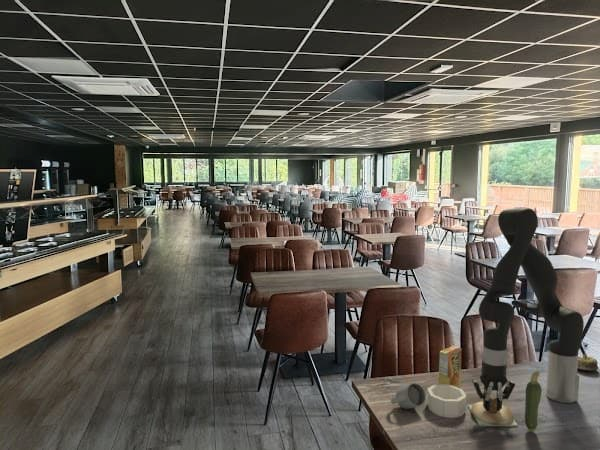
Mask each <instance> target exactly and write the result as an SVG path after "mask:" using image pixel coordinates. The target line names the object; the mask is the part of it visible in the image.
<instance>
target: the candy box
mask: <svg viewBox="0 0 600 450" xmlns="http://www.w3.org/2000/svg"><path fill="white" fill-rule="evenodd" d="M462 353H463V349H462V348H460V347H458V346H455V345H452V346H449V347H447V348H445V349H442V350H440V351H439V365H438V384H449V385H452V386H455V387H457V388H461V377H462V376H461V375H462V374H461V373H462V357H463V356H462V355H463V354H462Z"/></svg>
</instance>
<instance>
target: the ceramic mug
mask: <svg viewBox="0 0 600 450" xmlns="http://www.w3.org/2000/svg"><path fill="white" fill-rule="evenodd" d="M426 401H427V394H426V392H425V389H424V388H423V386H422V385H421V384H419V383H418V382H411V383H409V384H406V385H404V386H401V387H400V388H399V389H397V391H396V393H395V397H394V398H390V402H391V405H394V404H398V406H399V407H400V408H403V409H406V410H410V409H413V408H415V409H416V408H420V407H422V406H424V404H425V402H426Z"/></svg>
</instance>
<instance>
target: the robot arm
mask: <svg viewBox="0 0 600 450" xmlns="http://www.w3.org/2000/svg"><path fill="white" fill-rule="evenodd" d="M497 221H498V222H497V223H498V228H499V229H500V232H501V234H502V235H503V237H504V239H505V240H506V241H507V244H509V246H510V247H509V249H508V250H507V251H506V253H505V254H504V255H503V256H502V257H501V259H500V260H499V261H498V263H497V264H496V266H495V269H494V271H493V277H492V281H491V284H490V286H489V288H488V290H487V292H486V293H485V295H484V297H483V299H482V300H481V302H480V303H479V306H478V314H479V316H480V318H481V319H482V320H485V321H487V322H491V323H497V324H498V327H494V326H493V327H487V328H485V329H484V331H483V346H482V353H481V374H480V377H479V378H478V379H475V378H473V379H471V383H472V385H473V387H474V390H475V391H476V394H477V396H478V397H479V399H482V401H483V407H484V408H485V409H486V411H489V396H491V394H492V392H493V391H495V395H496V396H495V397H496V398H497V399H498V403H497V411H500V409H502V405H503V400H508V399H509V397H510V396H511V394H512V392H513V391H514V388H515V387H516V384H515V382H513V380H512V379H508V378H507V368H508V367H507V365H508V351H507V348H508V347H507V345H508V335H509V331H510V328H511V325H512V323H513V320H514V317H515V309H514V307H513V305H512V304H511V303H508V302H505V301H499V300H498V299H500V297H508V296H509V297H510V296H512V295H513V294H514V291H515V287H516V284H517V280H518V275H519V272H520V268H522V271H523V273H524V275H525V277H526V279H527V282H528V283H529V285H530V287H531V289H532V291H533V293H534V296H535V298H536V300H537V302H538V304H539V307H540V311H541V313H542V316H543V319H544V321H545V324H546V325H547V326H548V328H550V329H551V330H553V331H555V332H558V333H559V338H558V339H556V340H555V339H554V340H550V342H549V343H548V355H547V357H548V359H547V372H546V373H547V374H546V375H547V376H546V388H545V390H546V393H545V395H546V397H547V398H549V399H550V400H551V401H555V402H558V403H563V404H572V403H574V402H579V387H580V375H579V374H578V368H577V365H578V356H579V352H580V351H579V350H580V349H581V346H582V342H583V333H584V326H585V325H584V323H585V322H584V317H583V316H582V314H581V313H580V312H578V311H577V310H573V309H570V308H568V307H565V306H563V304H562V303H561V301H560V300H559V298H558V295H557V292H556V291H557V290H556V289H557V285H558V281H559V280H558V275H557V272H556V270H555V268H554V266H553V263H552V261H551V260H550V259H549V257H547V255H546V254H545V253H543V252H542V251H541V250H539V248H537V247H536V246H535V245H534V244H532V243H531V242H532V241H533V238H534V236H535V233H536V230H537V228H538V224H539V219H538V214H537V213H536V211H535V210H534V209H532V208H529V207H521V208H520V207H519V208H507V209H503V210H502V211H500V213H499V214H498V218H497ZM481 384H482V385H483V392H482V390H481V386H482V385H481ZM504 386H505V387H504ZM503 387H504V389H503Z"/></svg>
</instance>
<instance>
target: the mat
mask: <svg viewBox="0 0 600 450" xmlns="http://www.w3.org/2000/svg"><path fill="white" fill-rule="evenodd" d="M472 405H473V404H468V405H467V407H468V409H469V410H470V412H471V407H472ZM474 419H475V421H476V423H477V424H478V426H480V427H481V426H485V427H512V428H513V427H515V428H519V427H518V426H519V424H518V423H517V422H516V420H515V419H513V422H512V423H510V424H507V425H492V424H488V423H485V422H482V421H480V420H478V419H477V418H475V417H474Z"/></svg>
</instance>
